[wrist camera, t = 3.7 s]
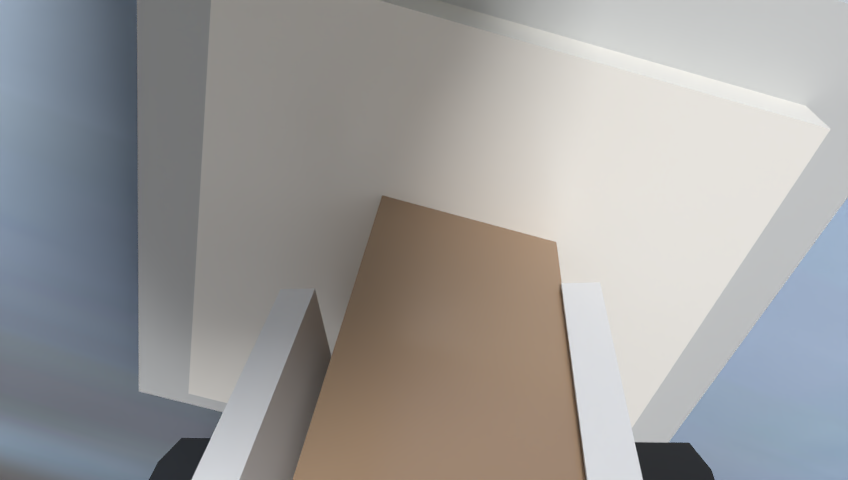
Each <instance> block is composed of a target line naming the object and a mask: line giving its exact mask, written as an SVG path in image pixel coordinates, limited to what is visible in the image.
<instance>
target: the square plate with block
mask: <svg viewBox="0 0 848 480" xmlns="http://www.w3.org/2000/svg"><path fill="white" fill-rule="evenodd" d="M829 131H830V128H829V127H828V126H827V125H826V124H825V123H824V122H823V121H822V120H820V119H819V118H818V117H817V116H816V115H815V114H814V113H813V112H812V111H811V110H810V109H809V108H808V107H807V106H805V105H801V104H798V103H794V102H791V101H787V100H784V99H780V98H777V97H773V96H770V95H766V94H763V93H759V92H756V91H752V90H749V89H745V88H742V87H739V86H735V85H732V84H728V83H725V82H721V81H718V80H714V79H711V78H707V77H704V76H700V75H697V74H693V73H690V72H686V71H683V70H679V69H676V68H672V67H669V66H665V65H662V64H658V63H655V62H651V61H648V60H644V59H641V58H637V57H634V56H630V55H627V54H623V53H620V52H616V51H613V50H609V49H606V48H602V47H599V46H595V45H592V44H588V43H585V42H581V41H578V40H575V39H571V38H568V37H564V36H561V35H557V34H554V33H550V32H547V31H543V30H540V29H536V28H533V27H529V26H526V25H522V24H519V23H515V22H512V21H508V20H505V19H501V18H498V17H494V16H491V15H487V14H484V13H480V12H477V11H473V10H470V9H466V8H463V7H459V6H456V5H452V4H449V3H445V2H442V1H438V0H211V9H210V26H209V44H208V61H207V78H206V96H205V113H204V130H203V148H202V165H201V182H200V200H199V217H198V234H197V252H196V269H195V286H194V304H193V321H192V338H191V356H190V373H189V390H188V394H192V395H196V396H200V397H204V398H208V399H212V400H216V401H220V402H225V403H228V401H229V398H230V396H231V394H232V392H233V390H234V388H235V386H236V383H237V381H238V379H239V377H240V375H241V373H242V371H243V368H244V366H245V364H246V362H247V360H248V358H249V356H250V354H251V351H252V349H253V347H254V345H255V343H256V341H257V339H258V336H259V334H260V332H261V330H262V328H263V326H264V324H265V321H266V319H267V317H268V315H269V313H270V311H271V309H272V306H273V304H274V302H275V300H276V298H277V296H278V294H279V292H280V289H308V288H315V291H316V295H317V299H318V303H319V307H320V311H321V316H322V320H323V324H324V328H325V332H326V336H327V340H328V344H329V349H330V353H331V359H330V362H329V365H328V369H327V372H326V375H325V378H324V381H323V385H322V388H321V391H320V394H319V397H318V400H317V404H316V407H315V410H314V413H313V416H312V419H311V423H310V426H309V429H308V432H307V435H306V438H305V442H304V445H303V448H302V451H301V454H300V458H299V461H298V464H297V467H296V470H295V473H294V477H293V480H586V475H585V467H584V459H583V452H582V444H581V436H580V429H579V421H578V413H577V405H576V398H575V390H574V382H573V375H572V367H571V359H570V352H569V344H568V336H567V329H566V321H565V313H564V306H563V298H562V290H561V283H592V282H600V284H601V289H602V293H603V298H604V302H605V307H606V312H607V316H608V321H609V325H610V330H611V335H612V339H613V344H614V349H615V353H616V358H617V362H618V367H619V372H620V376H621V381H622V386H623V390H624V395H625V399H626V404H627V409H628V413H629V418H630V423H631V427H633V426H634V424H635V423H636V421H637V420H638V418H639V417H640V415H641V414H642V412H643V411H644V409H645V408H646V406H647V405H648V403H649V402H650V400H651V399H652V397H653V396H654V394H655V393H656V391H657V390H658V388H659V387H660V385H661V384H662V382H663V381H664V379H665V378H666V376H667V375H668V373H669V372H670V370H671V369H672V367H673V366H674V364H675V363H676V361H677V360H678V358H679V357H680V355H681V354H682V352H683V351H684V349H685V348H686V346H687V344H688V343H689V341H690V340H691V338H692V337H693V335H694V334H695V332H696V331H697V329H698V328H699V326H700V325H701V323H702V322H703V320H704V319H705V317H706V316H707V314H708V313H709V311H710V310H711V308H712V307H713V305H714V304H715V302H716V301H717V299H718V298H719V296H720V295H721V293H722V292H723V290H724V289H725V287H726V286H727V284H728V283H729V281H730V280H731V278H732V277H733V275H734V274H735V272H736V271H737V269H738V268H739V266H740V265H741V263H742V262H743V260H744V259H745V257H746V256H747V254H748V253H749V251H750V250H751V248H752V247H753V245H754V244H755V242H756V241H757V239H758V238H759V236H760V235H761V233H762V232H763V230H764V229H765V227H766V226H767V224H768V223H769V221H770V220H771V218H772V217H773V215H774V214H775V212H776V211H777V209H778V208H779V206H780V205H781V203H782V202H783V200H784V199H785V197H786V196H787V194H788V193H789V191H790V190H791V188H792V187H793V185H794V184H795V182H796V181H797V179H798V178H799V176H800V175H801V173H802V172H803V170H804V169H805V167H806V166H807V164H808V163H809V161H810V160H811V158H812V156H813V155H814V153H815V152H816V150H817V149H818V147H819V146H820V144H821V143H822V141H823V140H824V138H825V137H826V135H827V134H828V132H829Z"/></svg>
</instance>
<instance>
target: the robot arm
mask: <svg viewBox="0 0 848 480" xmlns="http://www.w3.org/2000/svg"><path fill="white" fill-rule="evenodd" d="M561 290H562V298H563V306H564V313H565V321H566V329H567V336H568V344H569V352H570V359H571V367H572V375H573V382H574V390H575V398H576V405H577V413H578V421H579V429H580V436H581V444H582V452H583V459H584V467H585V475H586V480H714V477H713V474H712V470H711V469H710V468H709V467H708V465H707V464H706V463H705V462H704V460H703V459H702V458H701V457H700V456H699V454H698V453H697V452H696V451H695V449H694V448H693V447H692V446H691V444H690V443H664V442H635V441H634V436H633V432H632V427H631V423H630V418H629V413H628V409H627V404H626V399H625V395H624V390H623V386H622V381H621V376H620V372H619V367H618V362H617V358H616V353H615V349H614V344H613V339H612V335H611V330H610V325H609V321H608V316H607V312H606V307H605V302H604V298H603V293H602V289H601V284H600V282H592V283H561ZM330 359H331V353H330V349H329V344H328V340H327V336H326V332H325V328H324V324H323V320H322V316H321V311H320V307H319V303H318V299H317V295H316V291H315V288H308V289H280V292H279V294H278V296H277V298H276V300H275V302H274V304H273V306H272V309H271V311H270V313H269V315H268V317H267V319H266V321H265V324H264V326H263V328H262V330H261V332H260V334H259V336H258V339H257V341H256V343H255V345H254V347H253V349H252V351H251V354H250V356H249V358H248V360H247V362H246V364H245V366H244V368H243V371H242V373H241V375H240V377H239V379H238V381H237V383H236V386H235V388H234V390H233V392H232V394H231V396H230V398H229V401H228V403H227V405H226V407H225V409H224V411H223V413H222V416H221V418H220V420H219V422H218V424H217V426H216V428H215V430H214V433H213V435H212V437H211V438H181V439H180V440H179V441H178V442H177V443H176V444H175V445H174V446H173V448H172V449H171V450H170V451H169V452H168V453H167V454H166V455H165V456H164V457H163V458H162V459H161V460H160V461H159V462H158V464H157V465H156V467H155V469H154V471H153V473H152V475H151V477H150V479H149V480H293V477H294V473H295V470H296V467H297V464H298V461H299V458H300V454H301V451H302V448H303V445H304V442H305V438H306V435H307V432H308V429H309V426H310V423H311V419H312V416H313V413H314V410H315V407H316V404H317V400H318V397H319V394H320V391H321V388H322V385H323V381H324V378H325V375H326V372H327V369H328V365H329V362H330Z"/></svg>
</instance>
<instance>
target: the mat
mask: <svg viewBox="0 0 848 480" xmlns="http://www.w3.org/2000/svg"><path fill="white" fill-rule="evenodd" d="M438 1H442V2H445V3H449V4H452V5H456V6H459V7H463V8H466V9H470V10H473V11H477V12H480V13H484V14H487V15H491V16H494V17H498V18H501V19H505V20H508V21H512V22H515V23H519V24H522V25H526V26H529V27H533V28H536V29H540V30H543V31H547V32H550V33H554V34H557V35H561V36H564V37H568V38H571V39H575V40H578V41H581V42H585V43H588V44H592V45H595V46H599V47H602V48H606V49H609V50H613V51H616V52H620V53H623V54H627V55H630V56H634V57H637V58H641V59H644V60H648V61H651V62H655V63H658V64H662V65H665V66H669V67H672V68H676V69H679V70H683V71H686V72H690V73H693V74H697V75H700V76H704V77H707V78H711V79H714V80H718V81H721V82H725V83H728V84H732V85H735V86H739V87H742V88H745V89H749V90H752V91H756V92H759V93H763V94H766V95H770V96H773V97H777V98H780V99H784V100H787V101H791V102H794V103H798V104H801V105H805V106H807V107H808V108H809V109H810V110H811V111H812V112H813V113H814V114H815V115H816V116H817V117H818V118H819V119H820V120H822V121H823V122H824V123H825V124H826V125H827V126H828V127H829V128H830V131H829V132H828V134H827V135H826V137H825V138H824V140H823V141H822V143H821V144H820V146H819V147H818V149H817V150H816V152H815V153H814V155H813V156H812V158H811V160H810V161H809V163H808V164H807V166H806V167H805V169H804V170H803V172H802V173H801V175H800V176H799V178H798V179H797V181H796V182H795V184H794V185H793V187H792V188H791V190H790V191H789V193H788V194H787V196H786V197H785V199H784V200H783V202H782V203H781V205H780V206H779V208H778V209H777V211H776V212H775V214H774V215H773V217H772V218H771V220H770V221H769V223H768V224H767V226H766V227H765V229H764V230H763V232H762V233H761V235H760V236H759V238H758V239H757V241H756V242H755V244H754V245H753V247H752V248H751V250H750V251H749V253H748V254H747V256H746V257H745V259H744V260H743V262H742V263H741V265H740V266H739V268H738V269H737V271H736V272H735V274H734V275H733V277H732V278H731V280H730V281H729V283H728V284H727V286H726V287H725V289H724V290H723V292H722V293H721V295H720V296H719V298H718V299H717V301H716V302H715V304H714V305H713V307H712V308H711V310H710V311H709V313H708V314H707V316H706V317H705V319H704V320H703V322H702V323H701V325H700V326H699V328H698V329H697V331H696V332H695V334H694V335H693V337H692V338H691V340H690V341H689V343H688V344H687V346H686V348H685V349H684V351H683V352H682V354H681V355H680V357H679V358H678V360H677V361H676V363H675V364H674V366H673V367H672V369H671V370H670V372H669V373H668V375H667V376H666V378H665V379H664V381H663V382H662V384H661V385H660V387H659V388H658V390H657V391H656V393H655V394H654V396H653V397H652V399H651V400H650V402H649V403H648V405H647V406H646V408H645V409H644V411H643V412H642V414H641V415H640V417H639V418H638V420H637V421H636V423H635V424H634V426H633V427H632V432H633V436H634V441H635V442H664V443H669V441H670V440H671V438H672V437H673V436H674V434H675V433H676V432H677V430H678V429H679V427H680V426H681V425H682V423H683V422H684V421H685V419H686V418H687V417H688V415H689V414H690V412H691V411H692V410H693V408H694V407H695V406H696V404H697V403H698V401H699V400H700V399H701V397H702V396H703V395H704V393H705V392H706V390H707V389H708V388H709V386H710V385H711V384H712V382H713V381H714V380H715V378H716V377H717V375H718V374H719V373H720V371H721V370H722V369H723V367H724V366H725V364H726V363H727V362H728V360H729V359H730V358H731V356H732V355H733V354H734V352H735V351H736V349H737V348H738V347H739V345H740V344H741V343H742V341H743V340H744V338H745V337H746V336H747V334H748V333H749V332H750V330H751V329H752V328H753V326H754V325H755V323H756V322H757V321H758V319H759V318H760V317H761V315H762V314H763V312H764V311H765V310H766V308H767V307H768V306H769V304H770V303H771V302H772V300H773V299H774V297H775V296H776V295H777V293H778V292H779V291H780V289H781V288H782V286H783V285H784V284H785V282H786V281H787V280H788V278H789V277H790V276H791V274H792V273H793V271H794V270H795V269H796V267H797V266H798V265H799V263H800V262H801V260H802V259H803V258H804V256H805V255H806V254H807V252H808V251H809V250H810V248H811V247H812V245H813V244H814V243H815V241H816V240H817V239H818V237H819V236H820V234H821V233H822V232H823V230H824V229H825V228H826V226H827V225H828V223H829V222H830V221H831V219H832V218H833V217H834V215H835V214H836V213H837V211H838V210H839V208H840V207H841V206H842V204H843V203H844V202H845V200H846V199H847V197H848V0H438ZM210 9H211V0H137V133H138V320H139V392H143V393H147V394H151V395H155V396H159V397H163V398H167V399H171V400H175V401H180V402H184V403H188V404H192V405H196V406H200V407H204V408H208V409H212V410H216V411H220V412H223V411H224V409H225V407H226V405H227V403H225V402H220V401H216V400H212V399H208V398H204V397H200V396H196V395H192V394H188V390H189V373H190V356H191V338H192V321H193V304H194V286H195V269H196V252H197V234H198V217H199V200H200V182H201V165H202V148H203V130H204V113H205V96H206V78H207V61H208V44H209V26H210Z"/></svg>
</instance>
